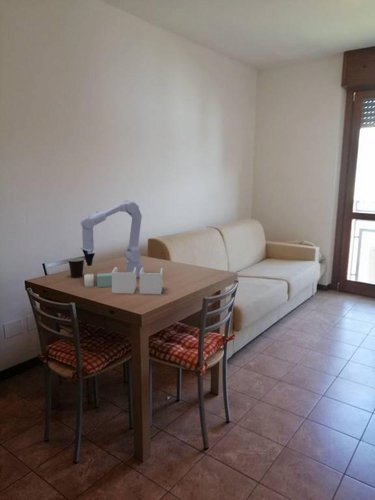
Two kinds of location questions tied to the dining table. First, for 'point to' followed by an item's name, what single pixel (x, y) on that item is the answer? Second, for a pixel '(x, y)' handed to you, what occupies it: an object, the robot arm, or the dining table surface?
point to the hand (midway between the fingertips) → (88, 263)
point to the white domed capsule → (88, 280)
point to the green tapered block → (104, 279)
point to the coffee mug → (76, 267)
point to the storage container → (127, 282)
